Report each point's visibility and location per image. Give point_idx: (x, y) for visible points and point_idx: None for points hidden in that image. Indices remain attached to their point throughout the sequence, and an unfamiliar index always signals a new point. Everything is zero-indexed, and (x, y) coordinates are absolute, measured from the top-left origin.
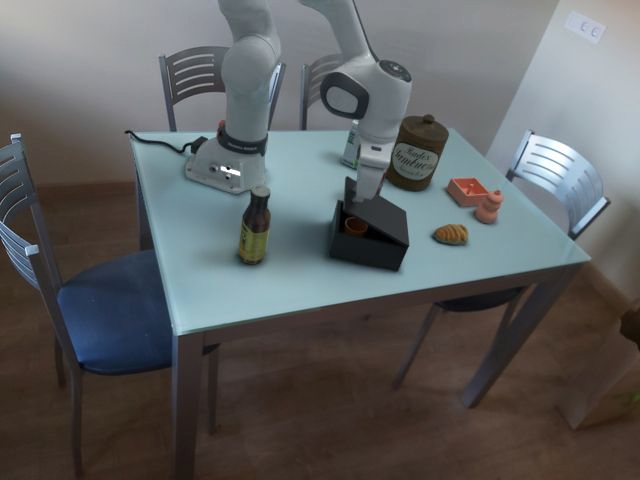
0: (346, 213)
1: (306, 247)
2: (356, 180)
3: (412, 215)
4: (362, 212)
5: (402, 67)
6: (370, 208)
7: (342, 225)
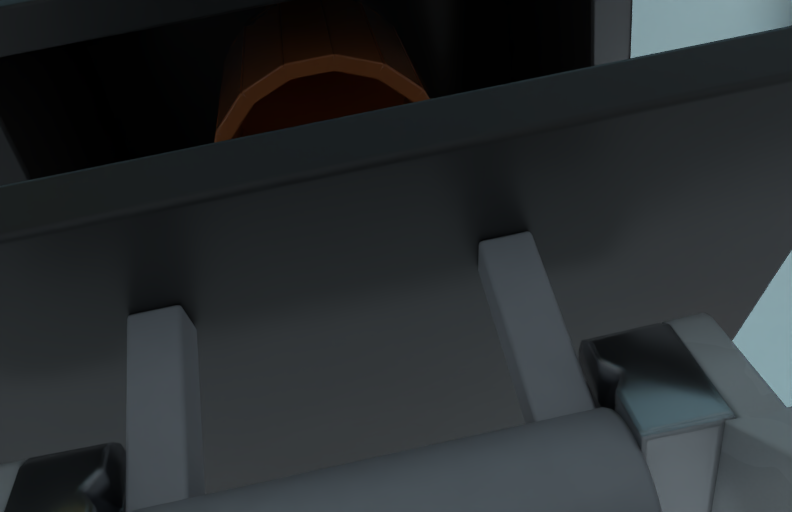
0: (544, 9)
1: None
2: (691, 322)
3: (781, 366)
4: (79, 431)
5: None
6: (318, 434)
7: None
